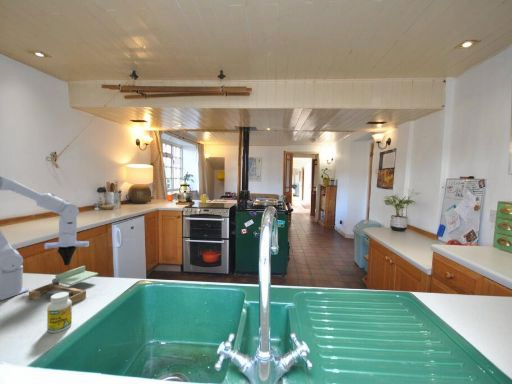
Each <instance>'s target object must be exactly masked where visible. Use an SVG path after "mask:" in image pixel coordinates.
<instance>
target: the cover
mask: <svg viewBox="0 0 512 384" xmlns="http://www.w3.org/2000/svg"><path fill="white" fill-rule="evenodd" d="M96 276H99V273H98V272H95V271H88V270H86V265H82V266H78V267H77V268H73V269H70V270H67V271H64V272H61V273H59V274H56V275H55V278H53V279H52V281H51V283H52V284H53V283H59V284H63V285H66V286H67V285H68V286H73V285H76V284H79V283H81V282H84V281H85V280H89V279H91V278H93V277H96Z"/></svg>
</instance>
